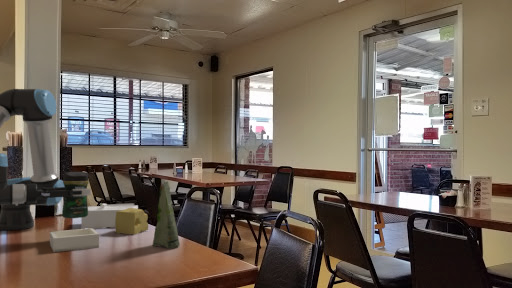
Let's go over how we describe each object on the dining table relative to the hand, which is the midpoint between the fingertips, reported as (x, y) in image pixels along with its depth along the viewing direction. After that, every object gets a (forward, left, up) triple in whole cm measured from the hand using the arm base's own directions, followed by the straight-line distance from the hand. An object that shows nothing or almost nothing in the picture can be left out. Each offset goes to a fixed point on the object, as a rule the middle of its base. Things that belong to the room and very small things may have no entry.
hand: (88, 190), depth 169 cm
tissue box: (-26, +15, -20) cm, 36 cm away
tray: (+12, -7, -20) cm, 24 cm away
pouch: (+29, +23, -20) cm, 42 cm away
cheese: (-4, +19, -20) cm, 28 cm away
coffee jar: (0, -5, -11) cm, 12 cm away
